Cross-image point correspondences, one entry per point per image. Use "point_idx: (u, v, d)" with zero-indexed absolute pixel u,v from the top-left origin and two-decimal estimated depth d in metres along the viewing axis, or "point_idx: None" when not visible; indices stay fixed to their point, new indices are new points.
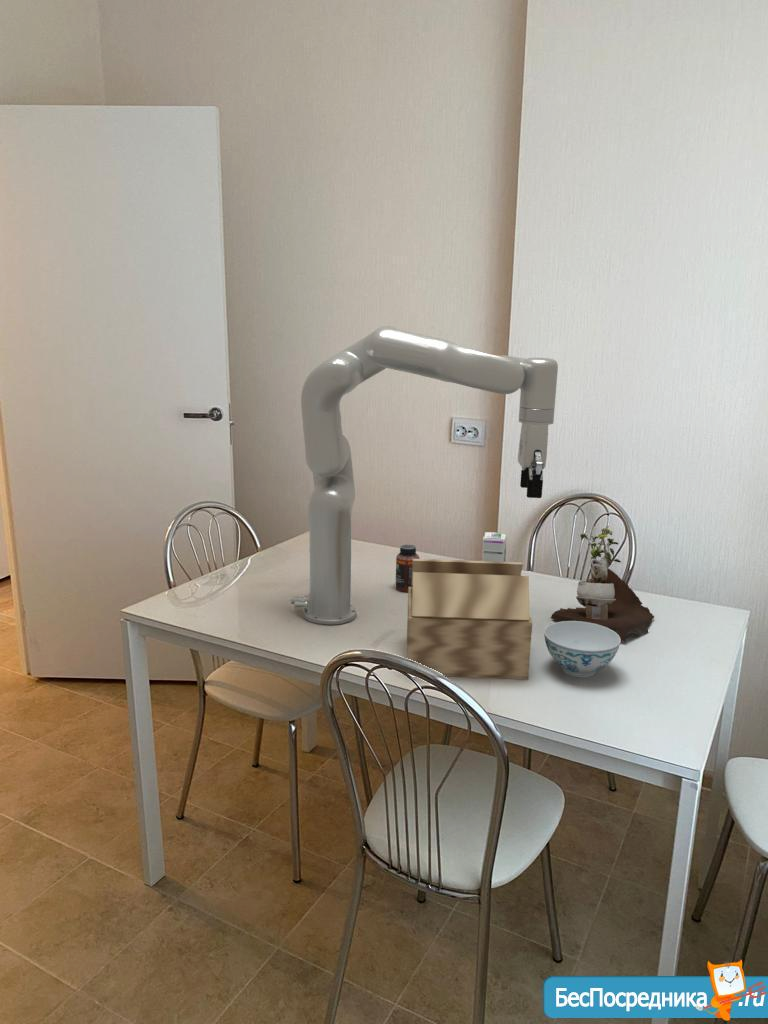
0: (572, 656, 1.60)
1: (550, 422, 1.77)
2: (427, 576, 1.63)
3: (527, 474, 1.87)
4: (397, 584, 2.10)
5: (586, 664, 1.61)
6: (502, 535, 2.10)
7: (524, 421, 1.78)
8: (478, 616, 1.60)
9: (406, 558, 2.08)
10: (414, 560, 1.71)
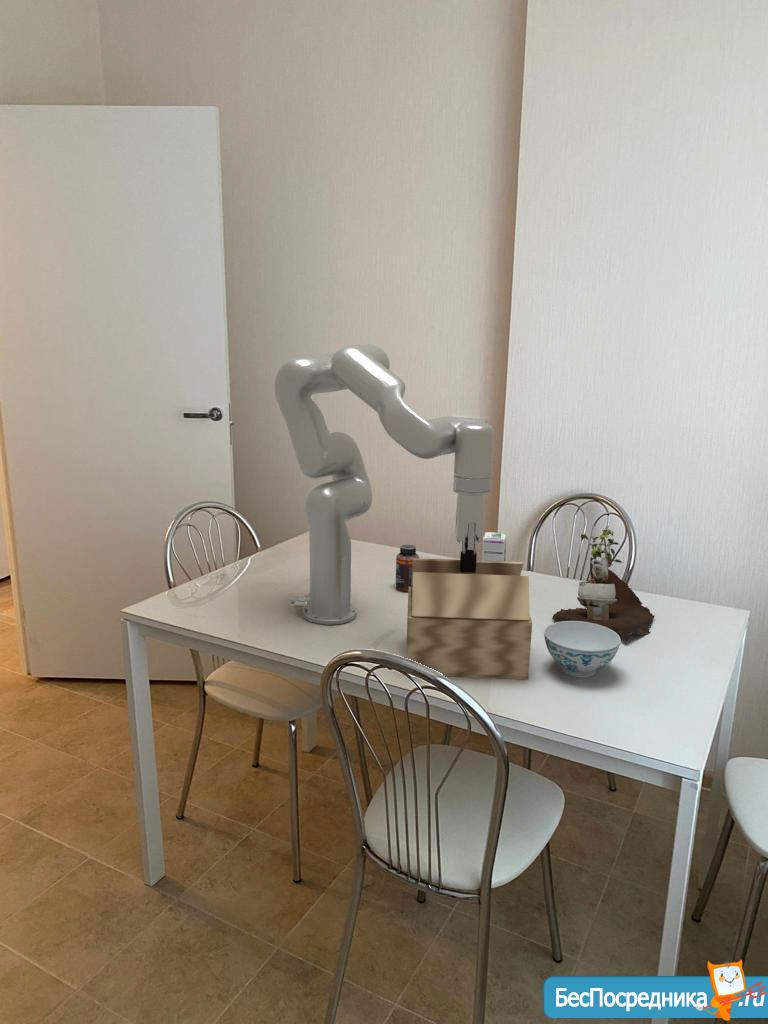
0: (572, 656, 1.60)
1: (486, 491, 1.63)
2: (427, 576, 1.63)
3: None
4: (397, 584, 2.10)
5: (586, 664, 1.61)
6: (502, 535, 2.10)
7: (458, 490, 1.64)
8: (478, 616, 1.60)
9: (406, 558, 2.08)
10: (414, 559, 1.72)
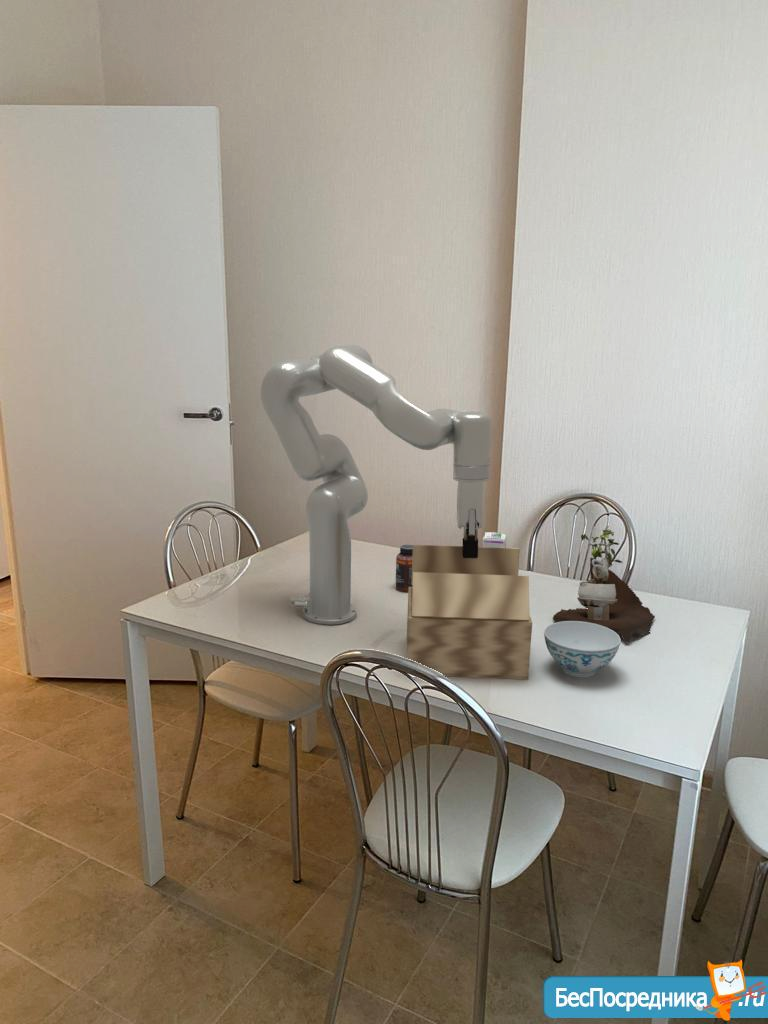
0: (572, 656, 1.60)
1: (485, 478, 1.69)
2: (427, 576, 1.63)
3: None
4: (397, 584, 2.10)
5: (586, 664, 1.61)
6: (502, 535, 2.10)
7: (458, 478, 1.69)
8: (478, 616, 1.60)
9: (406, 558, 2.08)
10: (414, 545, 1.77)
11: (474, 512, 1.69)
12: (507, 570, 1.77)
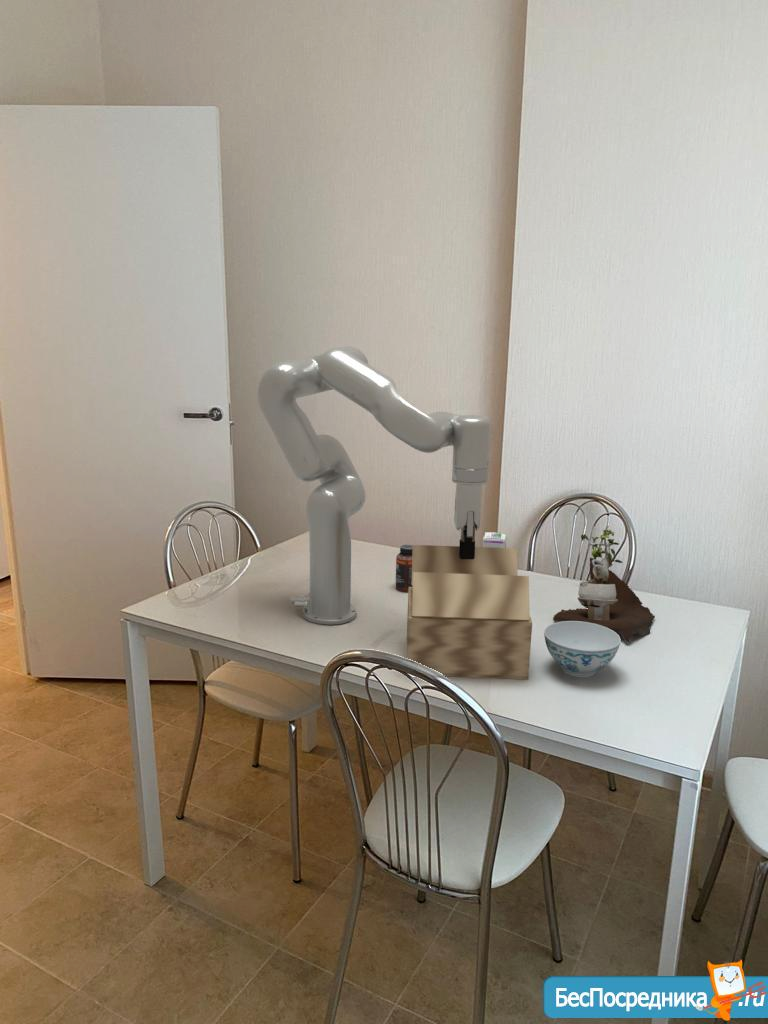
0: (572, 656, 1.60)
1: (484, 481, 1.71)
2: (427, 576, 1.63)
3: None
4: (397, 584, 2.10)
5: (586, 664, 1.61)
6: (502, 535, 2.10)
7: (457, 481, 1.72)
8: (478, 616, 1.60)
9: (406, 558, 2.08)
10: (414, 545, 1.80)
11: (472, 514, 1.71)
12: (506, 570, 1.79)
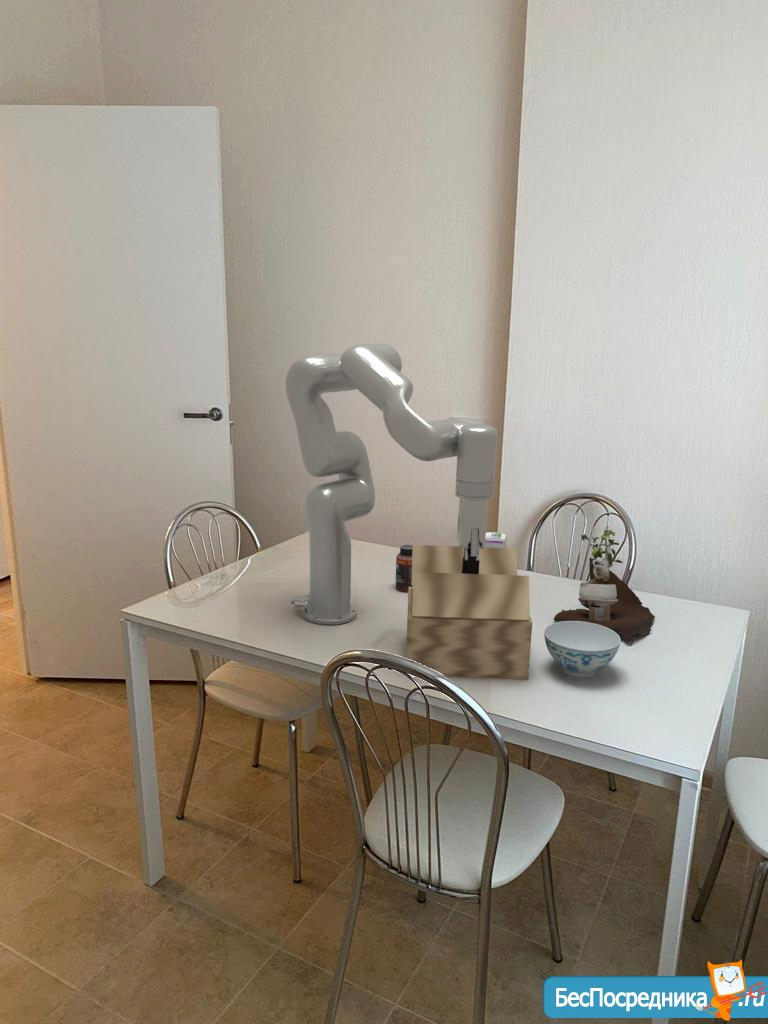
0: (572, 656, 1.60)
1: (490, 496, 1.58)
2: (427, 575, 1.63)
3: None
4: (397, 584, 2.10)
5: (586, 664, 1.60)
6: (502, 535, 2.10)
7: (461, 495, 1.59)
8: (478, 616, 1.60)
9: (406, 558, 2.08)
10: (414, 545, 1.80)
11: (477, 531, 1.58)
12: (506, 570, 1.79)
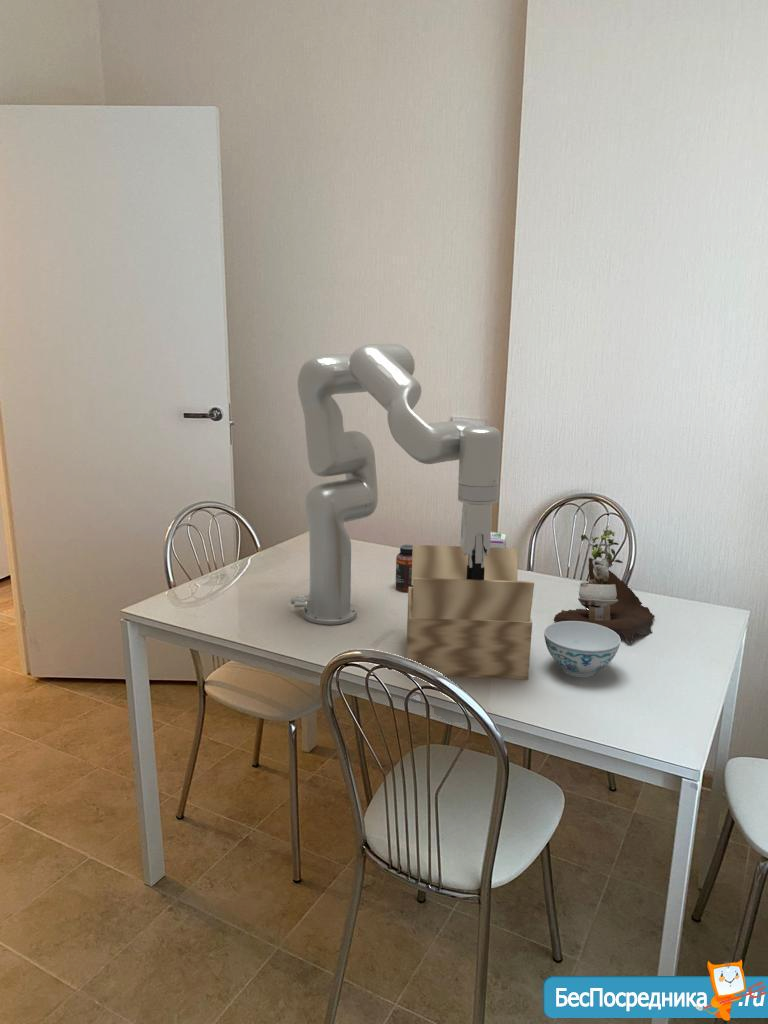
0: (572, 656, 1.60)
1: (494, 500, 1.52)
2: (428, 582, 1.57)
3: None
4: (397, 584, 2.10)
5: (586, 664, 1.61)
6: (502, 535, 2.10)
7: (463, 499, 1.52)
8: (478, 618, 1.60)
9: (406, 558, 2.08)
10: (414, 545, 1.80)
11: (481, 537, 1.52)
12: (506, 570, 1.79)
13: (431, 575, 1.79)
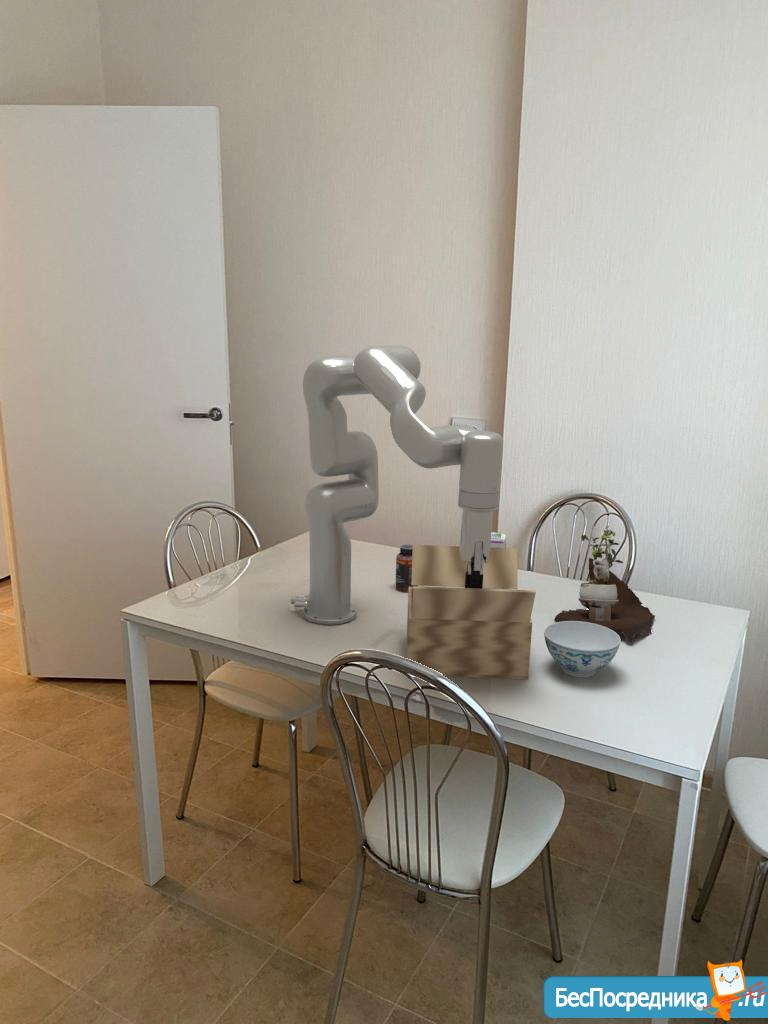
0: (572, 656, 1.60)
1: (495, 507, 1.50)
2: (428, 591, 1.55)
3: None
4: (397, 584, 2.10)
5: (586, 664, 1.61)
6: (502, 535, 2.10)
7: (464, 506, 1.50)
8: (478, 619, 1.60)
9: (406, 558, 2.08)
10: (414, 545, 1.80)
11: (481, 545, 1.50)
12: (506, 570, 1.79)
13: (431, 575, 1.79)
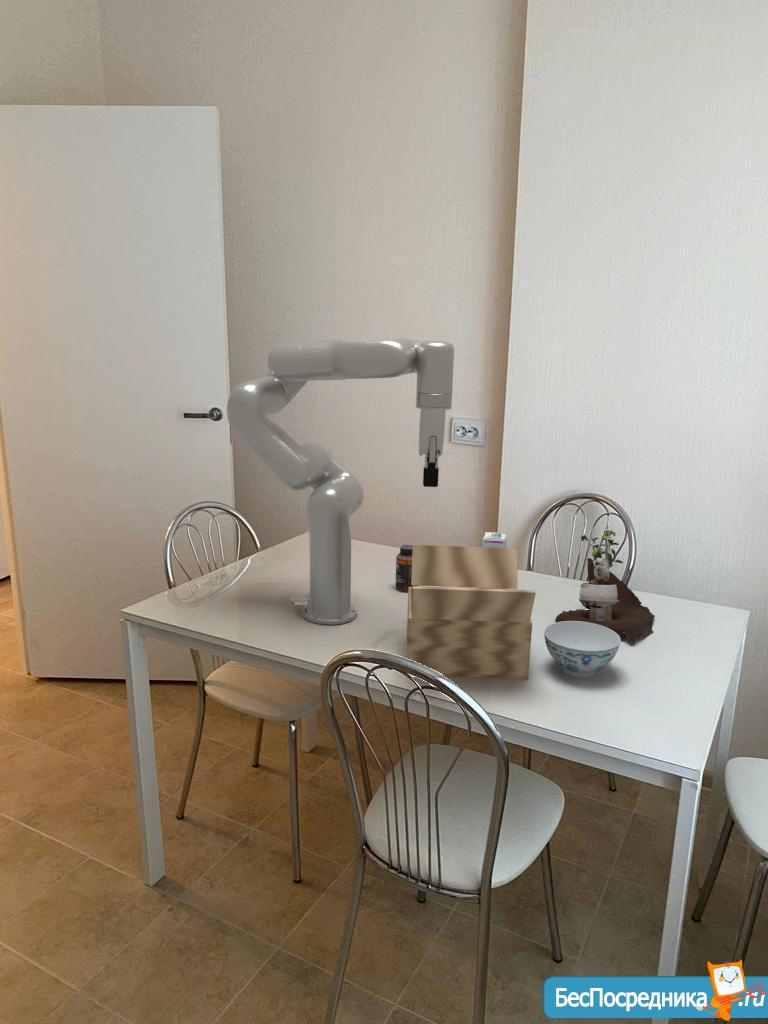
0: (572, 656, 1.60)
1: (447, 407, 1.72)
2: (428, 591, 1.55)
3: None
4: (397, 584, 2.10)
5: (586, 664, 1.61)
6: (502, 535, 2.10)
7: (420, 406, 1.72)
8: (478, 619, 1.60)
9: (406, 558, 2.08)
10: (414, 545, 1.80)
11: (435, 439, 1.72)
12: (506, 570, 1.79)
13: (431, 575, 1.79)
